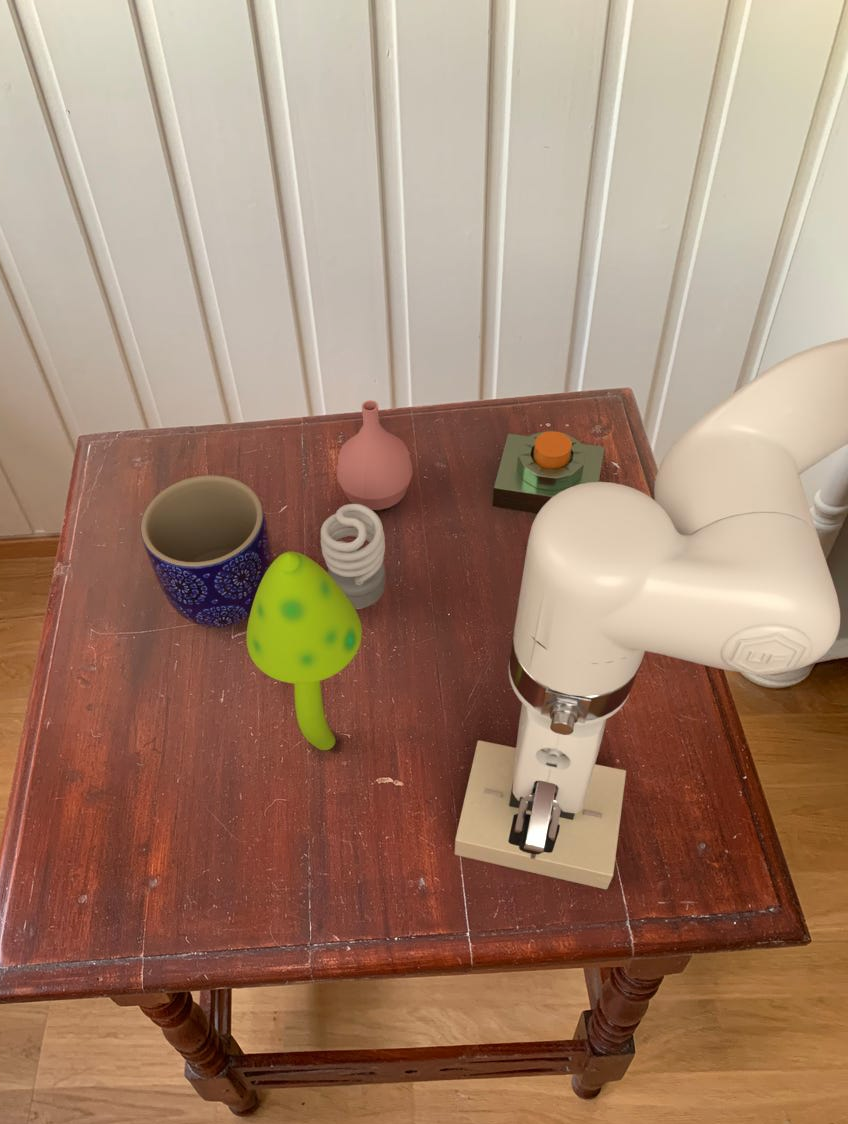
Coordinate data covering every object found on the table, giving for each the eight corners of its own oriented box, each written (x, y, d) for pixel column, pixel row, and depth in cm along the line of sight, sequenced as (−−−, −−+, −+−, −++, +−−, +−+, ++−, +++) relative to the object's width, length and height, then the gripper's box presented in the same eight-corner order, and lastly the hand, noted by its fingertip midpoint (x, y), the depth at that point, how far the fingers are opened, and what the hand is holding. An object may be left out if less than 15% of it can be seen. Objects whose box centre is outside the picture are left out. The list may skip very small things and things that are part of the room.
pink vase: (416, 470, 99) (414, 379, 89) (410, 524, 94) (407, 435, 85) (343, 468, 100) (334, 377, 90) (334, 521, 95) (323, 433, 85)
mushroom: (386, 713, 82) (371, 521, 61) (353, 797, 78) (325, 619, 57) (298, 688, 84) (255, 494, 63) (261, 768, 80) (202, 587, 59)
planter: (247, 536, 95) (228, 456, 85) (301, 607, 89) (286, 529, 80) (150, 585, 92) (119, 507, 83) (200, 661, 86) (172, 587, 77)
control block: (601, 465, 98) (607, 433, 94) (591, 521, 93) (597, 490, 90) (506, 452, 100) (509, 419, 96) (492, 506, 95) (494, 474, 92)
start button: (572, 446, 94) (574, 433, 92) (567, 472, 92) (569, 459, 90) (536, 441, 94) (538, 428, 93) (530, 466, 92) (532, 453, 91)
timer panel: (620, 785, 77) (626, 768, 74) (607, 891, 72) (613, 876, 69) (476, 755, 79) (478, 737, 76) (454, 856, 74) (454, 840, 72)
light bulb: (322, 591, 90) (308, 505, 80) (376, 573, 91) (369, 486, 81) (341, 635, 87) (330, 552, 77) (397, 616, 88) (393, 531, 78)
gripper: (620, 801, 51) (575, 907, 65) (650, 563, 60) (605, 700, 74) (484, 772, 52) (469, 881, 66) (534, 543, 62) (511, 681, 76)
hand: (540, 785), depth 70 cm, fingers open, 9 cm apart
